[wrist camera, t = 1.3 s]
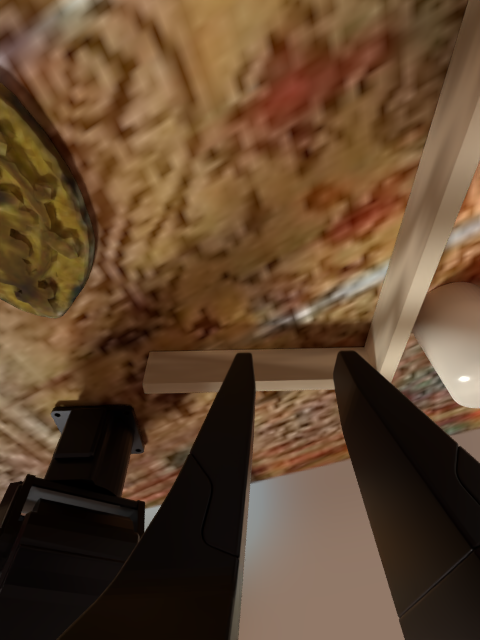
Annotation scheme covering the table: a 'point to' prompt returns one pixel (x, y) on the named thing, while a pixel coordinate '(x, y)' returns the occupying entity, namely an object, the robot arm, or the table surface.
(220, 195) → the table surface
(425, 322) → the cream capsule shape
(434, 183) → the frame
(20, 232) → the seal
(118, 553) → the robot arm
